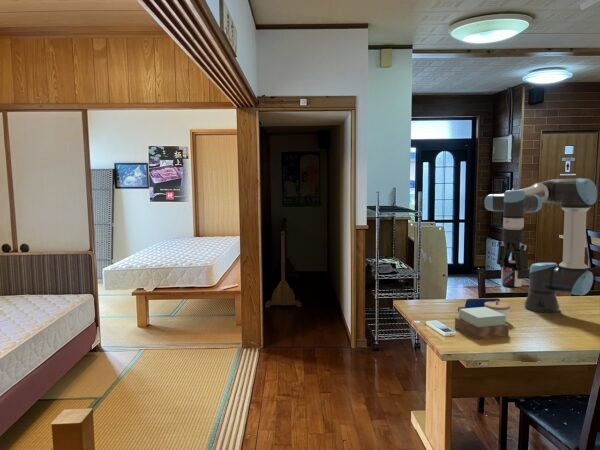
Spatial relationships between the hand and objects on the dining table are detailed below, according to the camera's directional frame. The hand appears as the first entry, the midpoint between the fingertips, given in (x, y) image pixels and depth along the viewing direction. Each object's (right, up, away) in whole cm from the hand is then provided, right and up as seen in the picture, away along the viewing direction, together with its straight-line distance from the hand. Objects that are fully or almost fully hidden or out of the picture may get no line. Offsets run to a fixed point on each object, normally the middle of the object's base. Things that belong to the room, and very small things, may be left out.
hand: (511, 284), depth 175 cm
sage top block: (-9, -17, +7) cm, 20 cm away
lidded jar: (+4, -20, +21) cm, 29 cm away
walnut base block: (-9, -22, +8) cm, 25 cm away
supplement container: (0, -1, 0) cm, 1 cm away
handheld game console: (0, -19, +33) cm, 38 cm away
